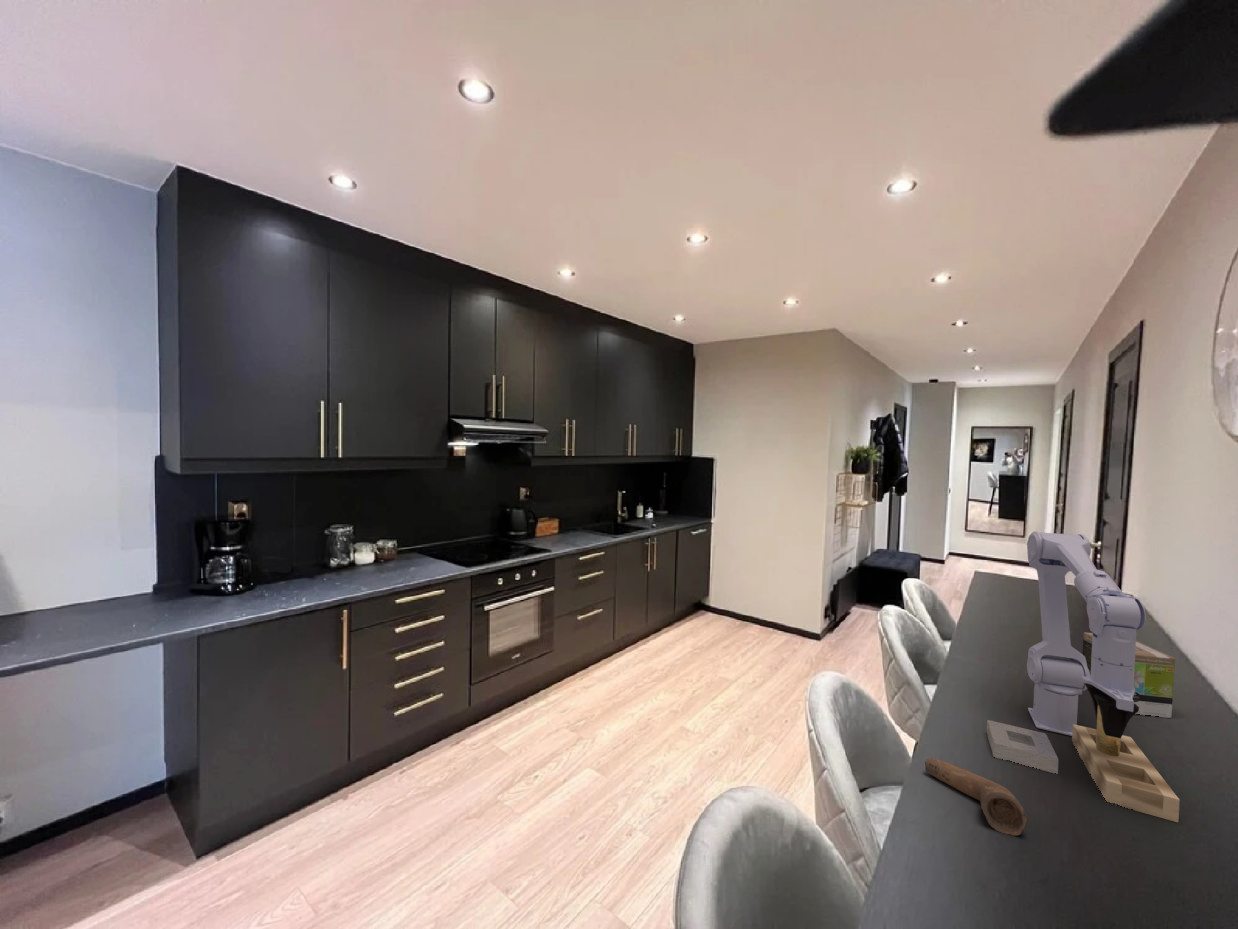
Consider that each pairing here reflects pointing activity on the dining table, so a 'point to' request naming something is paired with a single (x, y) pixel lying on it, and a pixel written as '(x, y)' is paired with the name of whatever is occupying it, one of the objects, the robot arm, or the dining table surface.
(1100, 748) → the tan brown peg
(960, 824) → the dining table surface
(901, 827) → the dining table surface
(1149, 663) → the tea box
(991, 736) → the socket block
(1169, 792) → the rack
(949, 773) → the pipe
